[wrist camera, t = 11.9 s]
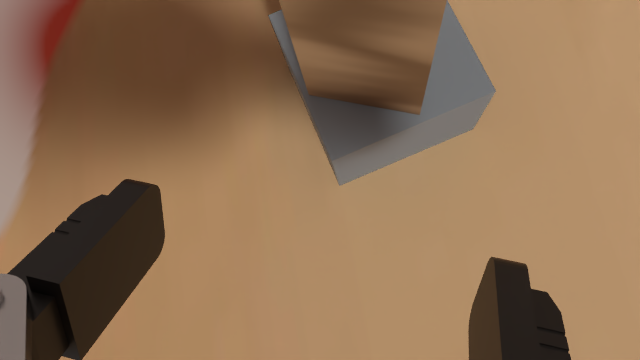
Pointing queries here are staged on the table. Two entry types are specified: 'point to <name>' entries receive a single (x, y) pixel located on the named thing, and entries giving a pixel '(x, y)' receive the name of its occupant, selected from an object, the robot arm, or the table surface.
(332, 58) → the walnut block
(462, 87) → the slate gray block
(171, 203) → the table surface
